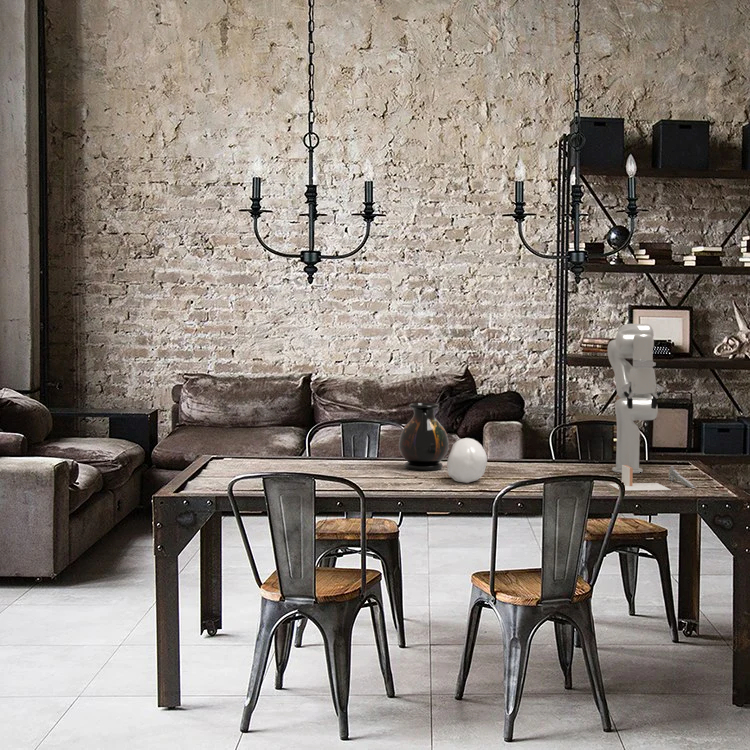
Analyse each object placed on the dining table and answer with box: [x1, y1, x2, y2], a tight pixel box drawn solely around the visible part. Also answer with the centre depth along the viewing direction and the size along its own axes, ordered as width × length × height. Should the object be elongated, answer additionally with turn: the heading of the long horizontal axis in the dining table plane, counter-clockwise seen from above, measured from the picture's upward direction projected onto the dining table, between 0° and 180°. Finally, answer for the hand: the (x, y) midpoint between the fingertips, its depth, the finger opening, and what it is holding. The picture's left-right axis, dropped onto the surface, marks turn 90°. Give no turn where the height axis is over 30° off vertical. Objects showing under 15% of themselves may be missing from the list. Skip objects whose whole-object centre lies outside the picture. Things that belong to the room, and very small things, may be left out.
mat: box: [608, 482, 672, 492], centre depth 390 cm, size 15×20×1 cm
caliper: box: [668, 465, 696, 489], centre depth 399 cm, size 20×1×6 cm, turn 10°
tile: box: [621, 465, 634, 486], centre depth 395 cm, size 8×2×7 cm, turn 5°
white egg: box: [446, 437, 488, 484], centre depth 405 cm, size 16×20×22 cm
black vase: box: [398, 402, 450, 472], centre depth 434 cm, size 22×22×28 cm
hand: (641, 408), depth 399 cm, fingers open, 9 cm apart
